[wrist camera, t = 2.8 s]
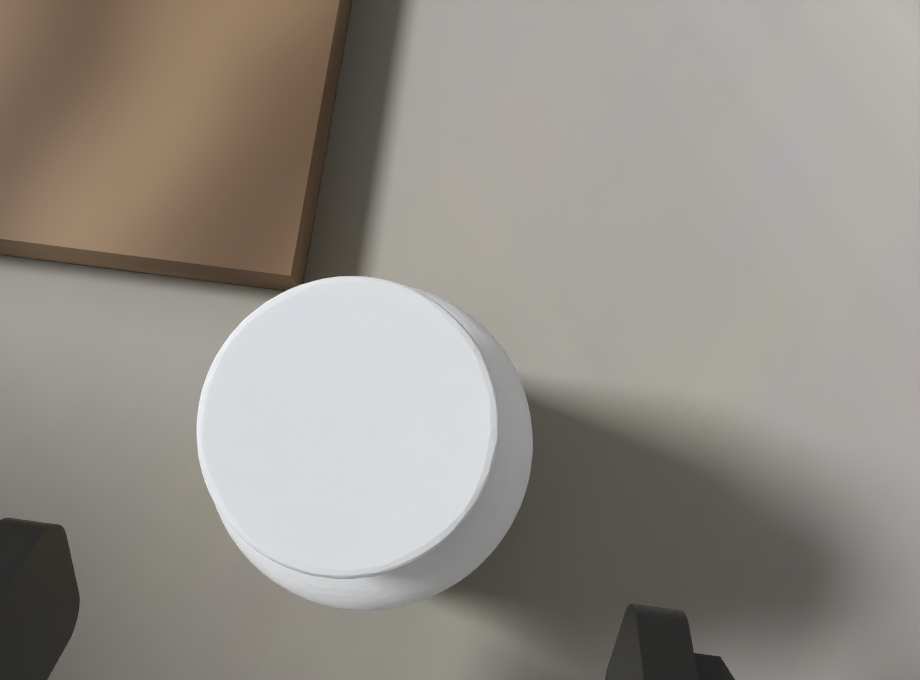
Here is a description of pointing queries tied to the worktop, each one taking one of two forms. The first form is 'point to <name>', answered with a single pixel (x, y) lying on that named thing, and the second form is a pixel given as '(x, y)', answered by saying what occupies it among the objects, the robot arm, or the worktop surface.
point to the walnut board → (167, 133)
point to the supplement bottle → (364, 442)
